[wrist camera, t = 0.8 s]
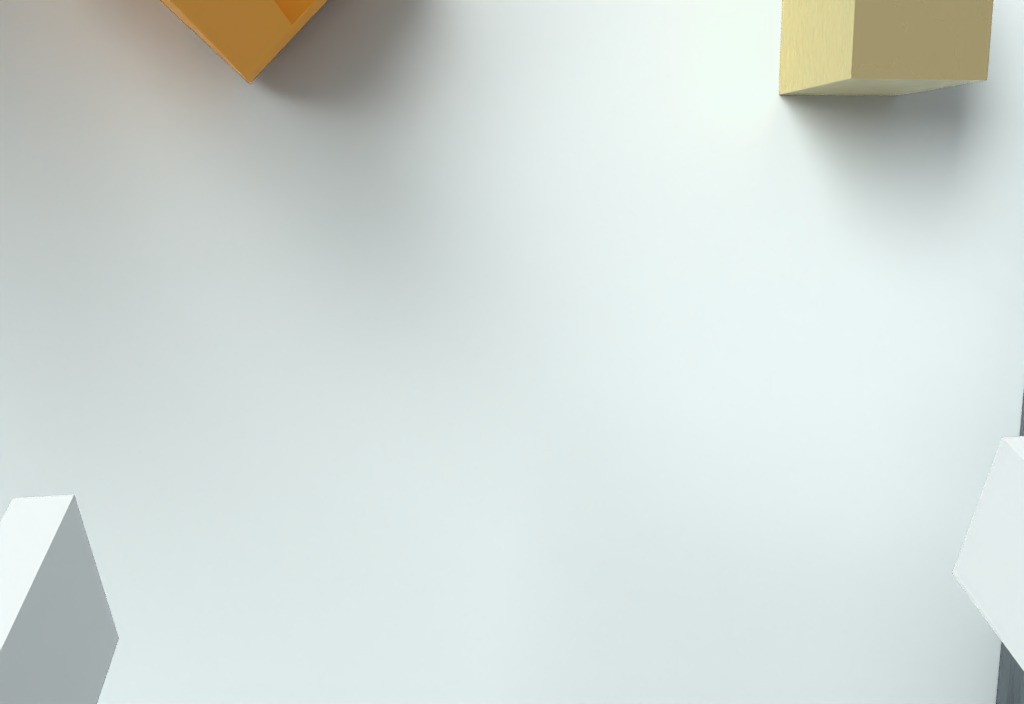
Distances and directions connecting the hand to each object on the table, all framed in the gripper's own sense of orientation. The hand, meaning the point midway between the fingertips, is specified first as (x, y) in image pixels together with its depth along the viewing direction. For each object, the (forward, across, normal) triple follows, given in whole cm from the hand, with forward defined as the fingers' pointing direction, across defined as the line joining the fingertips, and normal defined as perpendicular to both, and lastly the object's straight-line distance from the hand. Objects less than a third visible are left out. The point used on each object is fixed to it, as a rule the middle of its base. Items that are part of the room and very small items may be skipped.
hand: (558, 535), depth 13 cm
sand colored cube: (+24, -15, -2) cm, 28 cm away
